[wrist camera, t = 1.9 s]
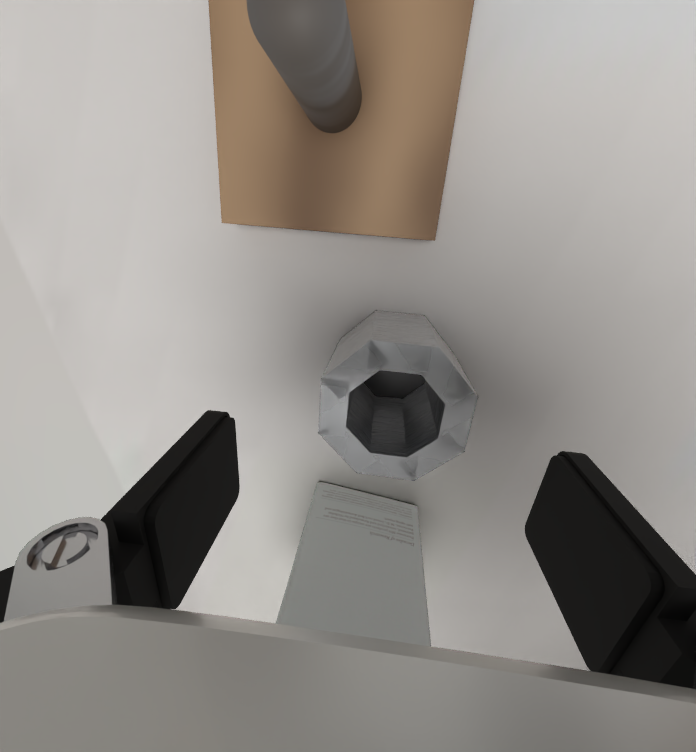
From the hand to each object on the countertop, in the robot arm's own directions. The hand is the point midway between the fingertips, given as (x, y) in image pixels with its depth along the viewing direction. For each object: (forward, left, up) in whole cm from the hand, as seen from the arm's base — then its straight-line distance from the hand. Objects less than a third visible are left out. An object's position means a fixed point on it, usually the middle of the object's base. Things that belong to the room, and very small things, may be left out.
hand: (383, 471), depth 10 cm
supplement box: (+1, +13, -11) cm, 17 cm away
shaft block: (+4, -12, -10) cm, 16 cm away
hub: (0, 0, -10) cm, 10 cm away
